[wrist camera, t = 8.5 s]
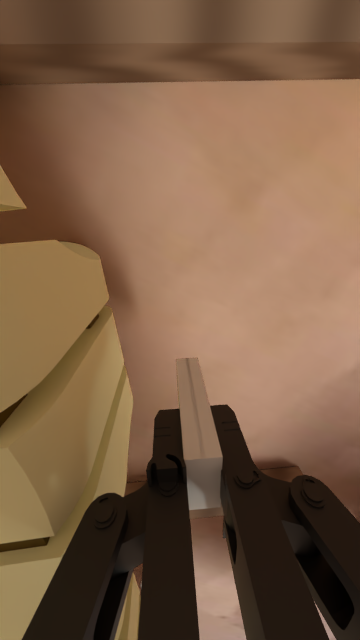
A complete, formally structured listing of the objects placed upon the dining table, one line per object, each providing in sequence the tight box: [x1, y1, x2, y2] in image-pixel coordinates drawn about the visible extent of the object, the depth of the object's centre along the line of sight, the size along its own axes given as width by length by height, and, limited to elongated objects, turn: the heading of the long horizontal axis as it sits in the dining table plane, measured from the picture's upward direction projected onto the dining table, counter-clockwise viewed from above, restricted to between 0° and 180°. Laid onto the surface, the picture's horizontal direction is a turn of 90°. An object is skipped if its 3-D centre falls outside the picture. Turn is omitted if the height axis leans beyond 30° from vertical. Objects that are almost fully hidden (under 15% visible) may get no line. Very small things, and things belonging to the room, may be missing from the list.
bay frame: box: [0, 0, 360, 519], centre depth 17 cm, size 36×38×5 cm
